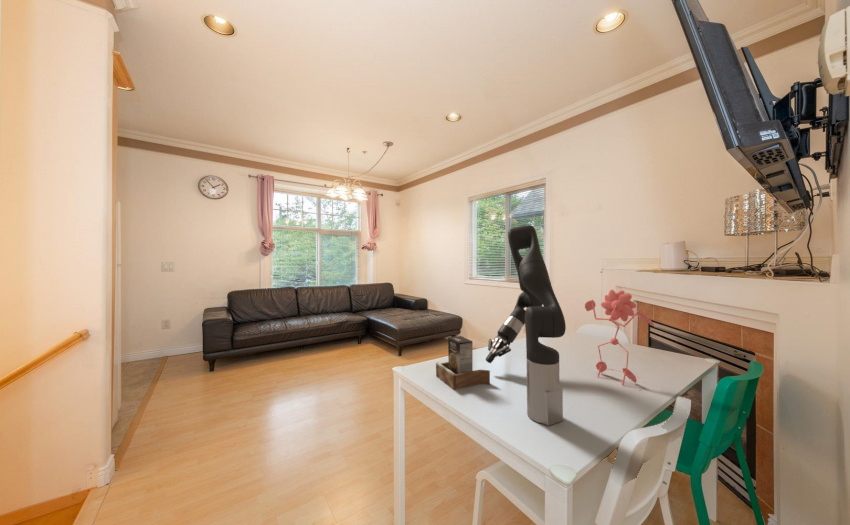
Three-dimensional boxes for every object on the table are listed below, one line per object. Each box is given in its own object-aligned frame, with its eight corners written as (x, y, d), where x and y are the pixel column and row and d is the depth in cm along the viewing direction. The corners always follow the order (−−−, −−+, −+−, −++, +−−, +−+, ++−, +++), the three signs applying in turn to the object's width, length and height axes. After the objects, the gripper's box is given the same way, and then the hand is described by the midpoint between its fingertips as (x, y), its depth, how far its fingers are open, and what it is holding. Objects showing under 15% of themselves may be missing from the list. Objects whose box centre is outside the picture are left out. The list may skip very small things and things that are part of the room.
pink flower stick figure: (647, 394, 102) (647, 293, 102) (577, 371, 124) (577, 288, 125) (667, 385, 110) (667, 291, 110) (597, 365, 132) (597, 287, 132)
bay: (491, 384, 113) (490, 369, 113) (456, 392, 106) (456, 376, 106) (465, 368, 129) (465, 355, 129) (433, 374, 123) (433, 361, 123)
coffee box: (447, 376, 121) (447, 337, 121) (461, 373, 123) (461, 335, 123) (459, 384, 112) (458, 342, 112) (473, 381, 115) (472, 340, 115)
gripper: (495, 321, 133) (473, 351, 128) (516, 326, 121) (492, 361, 116) (505, 331, 135) (483, 362, 130) (526, 338, 123) (503, 372, 118)
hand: (487, 361), depth 123 cm, fingers closed
